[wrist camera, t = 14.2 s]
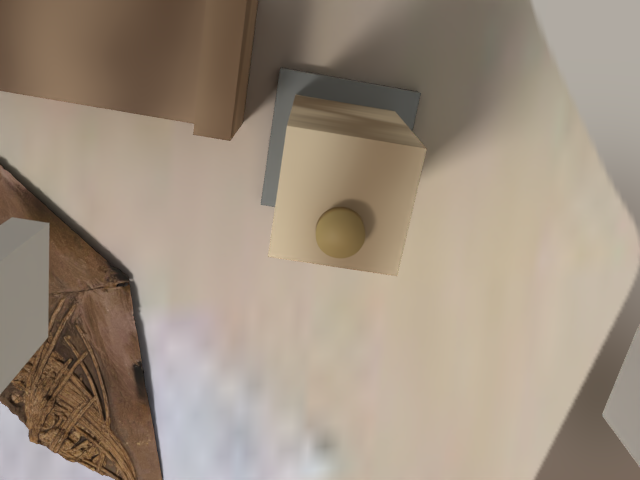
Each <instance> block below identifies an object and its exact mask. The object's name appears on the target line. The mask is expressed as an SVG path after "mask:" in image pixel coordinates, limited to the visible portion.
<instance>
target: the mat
mask: <svg viewBox="0 0 640 480" xmlns="http://www.w3.org/2000/svg"><path fill="white" fill-rule="evenodd" d="M295 95H302V96H308V97H313V98H319V99H325V100H331V101H337V102H343V103H349V104H355V105H361V106H367V107H373V108H379V109H385V110H391V111H395V112H396V113H397V114H398V115H399V117H400V118H401V119H402V120H403V121H404V122H405V124H406V125H407V126H408V127H409V128H410V130H411V131H412V130H413V126H414V121H415V117H416V112H417V108H418V104H419V99H420V95H421V93H420V92H416V91H411V90H405V89H399V88H394V87H388V86H382V85H377V84H371V83H366V82H360V81H354V80H349V79H343V78H337V77H332V76H326V75H320V74H315V73H309V72H304V71H298V70H292V69H287V68H280V73H279V80H278V87H277V94H276V101H275V108H274V115H273V122H272V129H271V136H270V143H269V150H268V157H267V164H266V171H265V178H264V185H263V192H262V199H261V205H266V206H272V207H275V204H276V198H277V191H278V184H279V177H280V170H281V163H282V156H283V149H284V142H285V135H286V128H287V124H288V120H289V116H290V113H291V109H292V105H293V102H294V98H295Z"/></svg>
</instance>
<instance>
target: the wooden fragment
mask: <svg viewBox="0 0 640 480" xmlns="http://www.w3.org/2000/svg"><path fill="white" fill-rule="evenodd" d="M12 217H13V218H20V219H26V220H33V221H39V222H45V223H49V308H48V338H47V339H46V340H45V342H44V343H43V344H42V345H41V346H40V347H39V349H38V350H37V351H36V352H35V353H34V355H33V356H32V357H31V358H30V359H29V361H28V362H27V363H26V364H25V365H24V367H23V368H22V369H21V370H20V371H19V373H18V374H17V375H16V376H15V377H14V379H13V380H12V381H11V382H10V383H9V385H8V386H7V387H6V388H5V389H4V391H3V392H2V393H1V394H0V401H1V403H2V404H4V405H5V406H7V407H8V408H9V410H10V411H11V412H12V413H13V414H15V415H18V417H19V419H20V420H21V421H22V422H23V423H24V424H25V425H26V427H27V428H28V429H29V439H30V441H31V442H34V443H36V444H41V445H44V446H46V447H47V448H48V449H50V450H51V451H53V452H54V453H58V454H60V455H61V456H62V457H63V458H65V459H66V460H68V461H71V462H78V463H80V464H82V465H84V466H86V467H87V468H89V469H91V470H92V471H96V472H97V473H99V474H101V475H102V476H103V475H105V476H109V477H111V478H113V479H115V480H162V477H161V476H162V475H161V470H160V464H159V458H158V453H157V446H156V441H155V434H154V428H153V423H152V418H151V412H150V407H149V401H148V396H147V391H146V388H145V381H144V375H143V373H144V372H143V369H142V360H141V355H140V348H139V342H138V336H137V330H136V327H135V320H134V319H133V318H134V316H133V315H132V314H133V305H132V299H131V293H130V285H129V284H128V285H127V286H125V287H124V286H123V287H120V286H119V287H116V285H117V284H118V283H124V284H125V282H126V283H129V281H130V280H129V278H128V276H127V275H125V274H124V273H122V272H121V271H120V270H118V269H116V268H115V267H112V266H111V265H110V264H109V262H108V261H107V260H105V259H104V258H103V257H102V256H101V255H100V254H99V253H97V252H96V251H95V250H94V249H93V248H92V247H91V246H89V245H88V244H87V243H86V242H85V241H84V240H83V239H82V238H81V237H80V236H79V235H78V234H76V233H75V232H74V231H73V230H71V229H70V227H69V226H67V225H66V224H65V223H64V222H63V221H62V220H61V219H60V218H59V217H57V216H56V215H55V214H54V213H53V212H52V211H51V210H50V209H48V208H47V206H46V205H44V204H43V203H42V202H41V201H40V200H39V199H37V198H36V197H35V196H34V195H33V194H32V193H31V192H30V191H28V190H27V189H26V188H25V187H24V186H23V185H22V184H21V183H20V182H19V181H18V180H16V179H15V177H13V176H12V174H11V173H9V172H8V171H7V170H4V169H3V167H2V166H1V165H0V225H1V224H3V223H4V222H6V221H7V220H9V219H10V218H12Z"/></svg>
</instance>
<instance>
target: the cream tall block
mask: <svg viewBox="0 0 640 480" xmlns="http://www.w3.org/2000/svg"><path fill="white" fill-rule="evenodd" d="M426 150H427V148H426V147H425V146H424V145H423V144H422V142H421V141H420V140H419V139H418V138H417V137H416V135H415V134H414V133H413V132H412V131H411V130H410V128H409V127H408V126H407V125H406V124H405V122H404V121H403V120H402V119H401V118H400V117H399V115H398V114H397V113H396V112H395V111H391V110H385V109H379V108H373V107H367V106H361V105H355V104H349V103H343V102H337V101H331V100H325V99H319V98H313V97H308V96H302V95H295V98H294V102H293V105H292V109H291V113H290V116H289V120H288V124H287V128H286V135H285V142H284V149H283V156H282V163H281V170H280V177H279V184H278V191H277V198H276V204H275V211H274V218H273V225H272V232H271V239H270V246H269V253H268V257H273V258H280V259H286V260H293V261H300V262H306V263H313V264H320V265H326V266H333V267H340V268H346V269H353V270H360V271H366V272H373V273H380V274H386V275H393V276H397V275H398V271H399V267H400V262H401V258H402V254H403V249H404V245H405V241H406V236H407V232H408V228H409V223H410V219H411V215H412V210H413V206H414V202H415V197H416V193H417V189H418V185H419V180H420V176H421V172H422V167H423V163H424V159H425V154H426Z"/></svg>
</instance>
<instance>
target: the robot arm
mask: <svg viewBox="0 0 640 480" xmlns="http://www.w3.org/2000/svg"><path fill="white" fill-rule="evenodd" d="M48 308H49V223H45V222H39V221H33V220H26V219H20V218H13V217H12V218H10V219H9V220H7V221H6V222H4V223H3V224H1V225H0V394H1V393H2V392H3V391H4V389H5V388H6V387H7V386H8V385H9V383H10V382H11V381H12V380H13V379H14V377H15V376H16V375H17V374H18V373H19V371H20V370H21V369H22V368H23V367H24V365H25V364H26V363H27V362H28V361H29V359H30V358H31V357H32V356H33V355H34V353H35V352H36V351H37V350H38V349H39V347H40V346H41V345H42V344H43V343H44V342H45V340H46V339H47V338H48ZM602 416H603V417H604V418H605V420H606V421H607V423H608V424H609V425H610V427H611V428H612V429H613V431H614V432H615V434H616V435H617V436H618V438H619V439H620V441H621V442H622V443H623V445H624V446H625V447H626V449H627V450H628V451H629V453H630V454H631V456H632V457H633V458H634V460H635V461H636V462H637V464H638V465H639V467H640V324H639V326H638V329H637V331H636V333H635V336H634V338H633V341H632V343H631V346H630V348H629V351H628V353H627V356H626V358H625V360H624V363H623V365H622V368H621V370H620V372H619V375H618V378H617V380H616V382H615V385H614V387H613V390H612V392H611V395H610V397H609V399H608V402H607V404H606V407H605V409H604V412H603V414H602Z"/></svg>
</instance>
